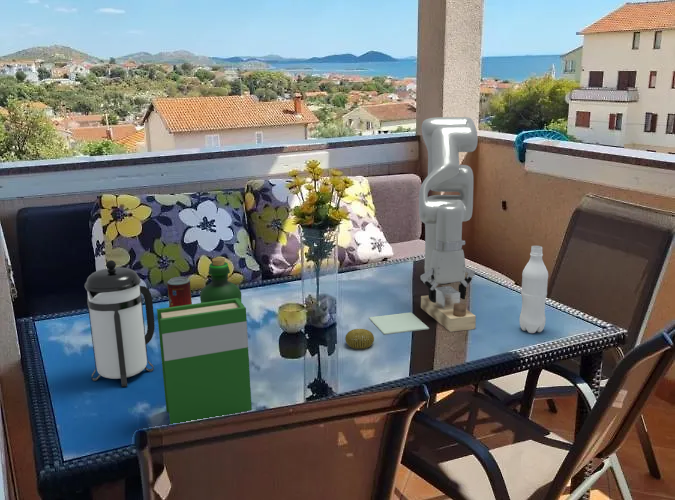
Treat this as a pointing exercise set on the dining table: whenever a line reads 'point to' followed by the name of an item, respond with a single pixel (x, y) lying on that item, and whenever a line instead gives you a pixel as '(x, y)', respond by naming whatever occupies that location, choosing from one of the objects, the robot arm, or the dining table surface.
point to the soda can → (179, 291)
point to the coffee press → (119, 322)
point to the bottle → (219, 283)
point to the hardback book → (205, 359)
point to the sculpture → (359, 338)
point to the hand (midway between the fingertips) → (447, 299)
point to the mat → (398, 323)
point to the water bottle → (534, 292)
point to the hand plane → (450, 315)
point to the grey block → (447, 297)
